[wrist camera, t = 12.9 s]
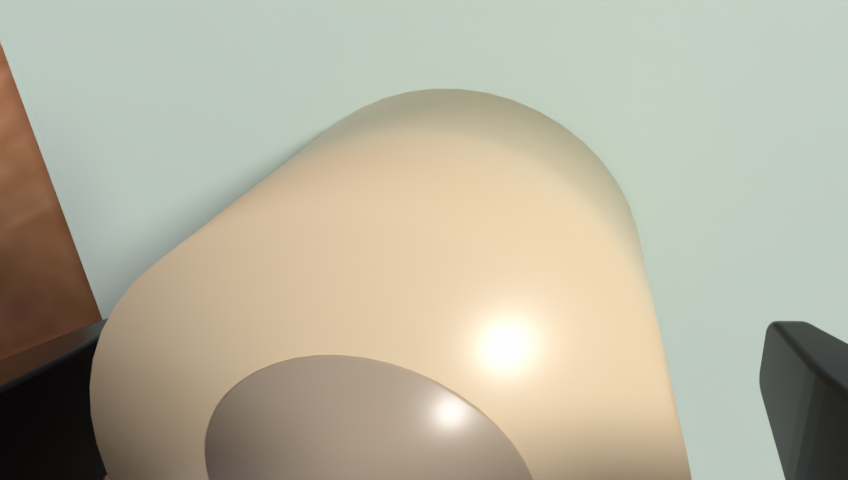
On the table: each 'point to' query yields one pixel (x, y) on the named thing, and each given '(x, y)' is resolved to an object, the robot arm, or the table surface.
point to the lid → (502, 76)
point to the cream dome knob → (400, 316)
